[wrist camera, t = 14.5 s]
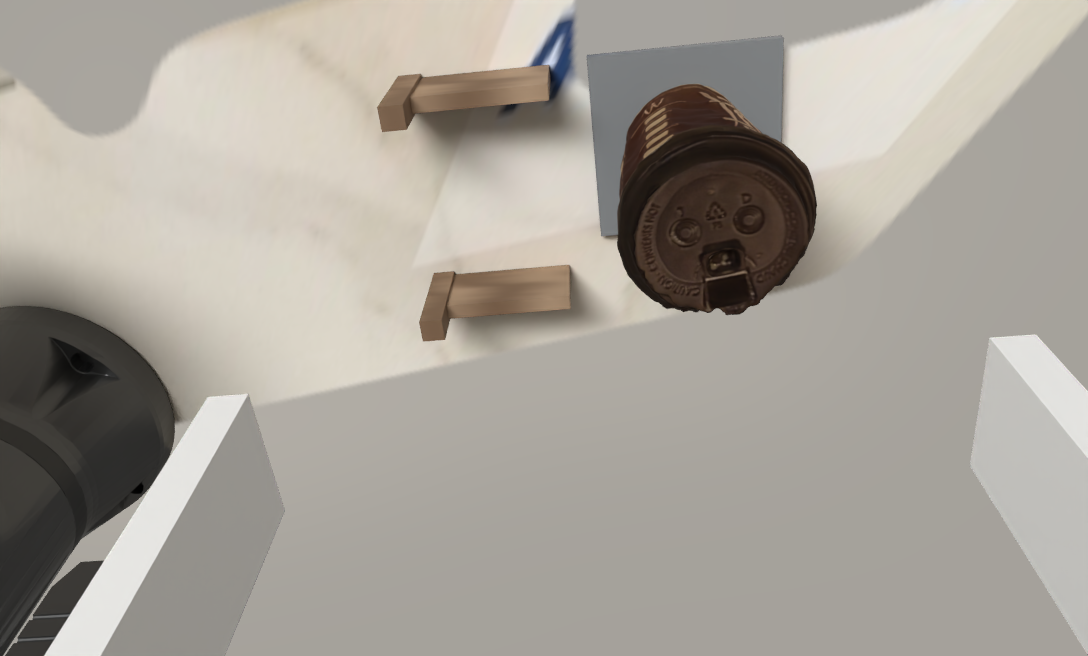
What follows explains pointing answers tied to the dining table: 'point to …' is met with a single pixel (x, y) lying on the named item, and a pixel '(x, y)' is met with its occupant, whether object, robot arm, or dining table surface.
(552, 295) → the cup holder rails
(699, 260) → the coffee cup
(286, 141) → the dining table surface
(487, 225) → the dining table surface
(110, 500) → the robot arm
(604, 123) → the coaster
